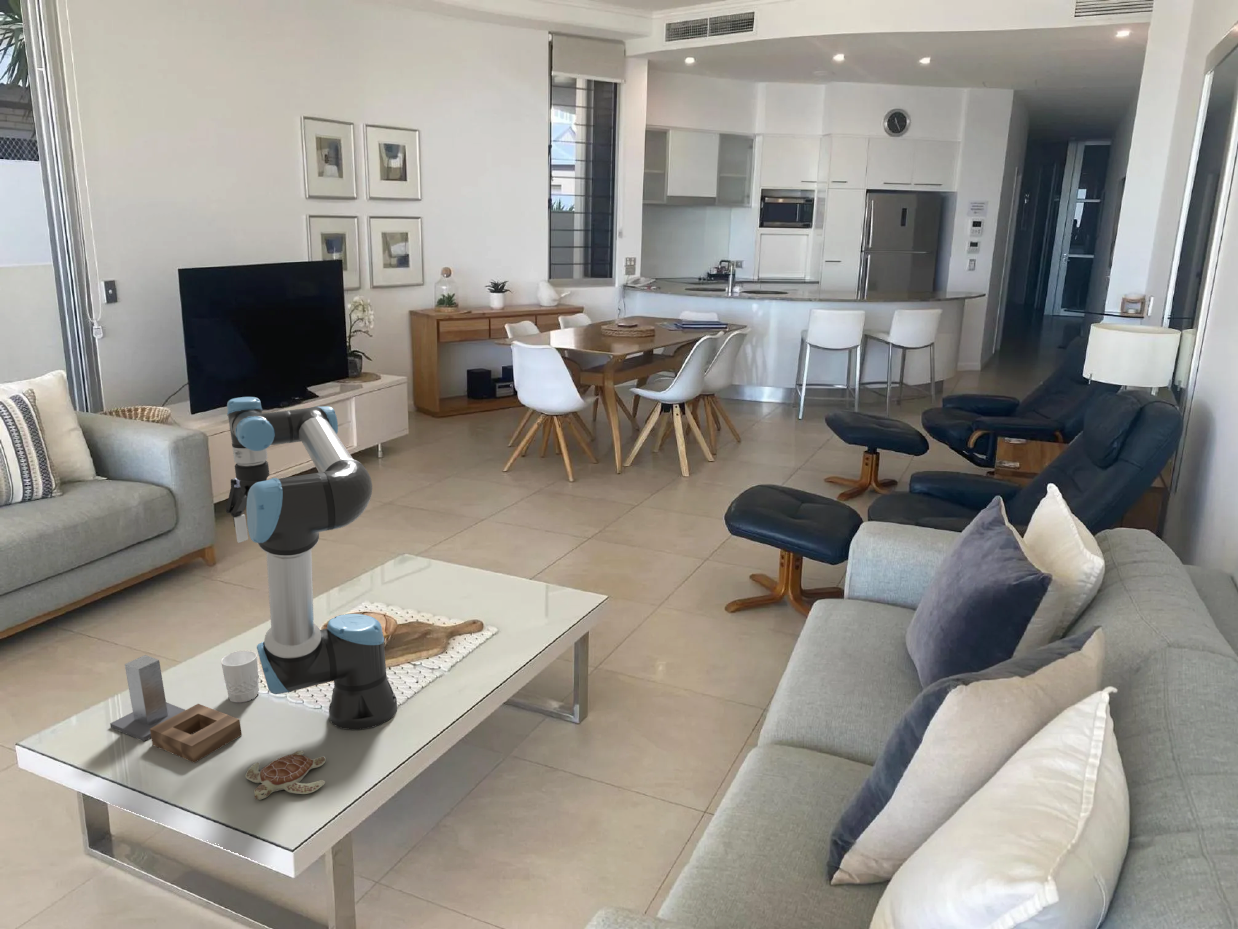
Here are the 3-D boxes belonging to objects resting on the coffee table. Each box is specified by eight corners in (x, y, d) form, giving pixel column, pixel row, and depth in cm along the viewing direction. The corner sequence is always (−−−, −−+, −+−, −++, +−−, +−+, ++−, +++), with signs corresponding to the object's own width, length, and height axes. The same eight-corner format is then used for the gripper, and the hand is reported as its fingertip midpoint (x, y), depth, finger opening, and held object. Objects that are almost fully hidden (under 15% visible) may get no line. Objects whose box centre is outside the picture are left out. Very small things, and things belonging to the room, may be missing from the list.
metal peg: (168, 715, 212) (159, 659, 209) (148, 725, 208) (138, 669, 204) (154, 710, 215) (145, 655, 211) (134, 720, 211) (124, 664, 207)
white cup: (249, 705, 218) (244, 667, 215) (219, 702, 220) (213, 664, 217) (268, 689, 225) (263, 651, 223) (239, 686, 227) (233, 649, 224)
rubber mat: (192, 716, 214) (191, 712, 214) (143, 741, 204) (143, 737, 204) (159, 703, 220) (158, 699, 219) (110, 727, 210) (110, 723, 209)
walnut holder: (241, 735, 206) (239, 719, 205) (194, 763, 196) (191, 746, 195) (200, 719, 212) (198, 703, 211) (152, 745, 202) (149, 728, 201)
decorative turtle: (221, 795, 186) (217, 773, 184) (280, 751, 200) (277, 730, 199) (293, 816, 179) (290, 794, 177) (348, 769, 194) (346, 748, 192)
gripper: (203, 459, 225) (214, 541, 231) (274, 472, 213) (284, 559, 219) (229, 452, 231) (240, 532, 237) (300, 464, 219) (309, 549, 225)
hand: (261, 545), depth 228 cm, fingers open, 13 cm apart
